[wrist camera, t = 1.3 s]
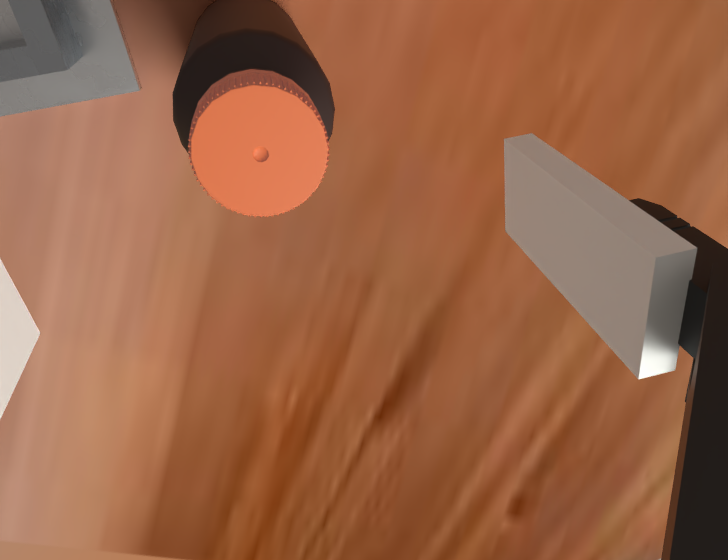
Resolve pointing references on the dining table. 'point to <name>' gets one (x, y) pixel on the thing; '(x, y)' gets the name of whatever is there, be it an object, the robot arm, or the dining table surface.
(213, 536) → the dining table surface
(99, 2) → the duct collar
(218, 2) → the vinegar
